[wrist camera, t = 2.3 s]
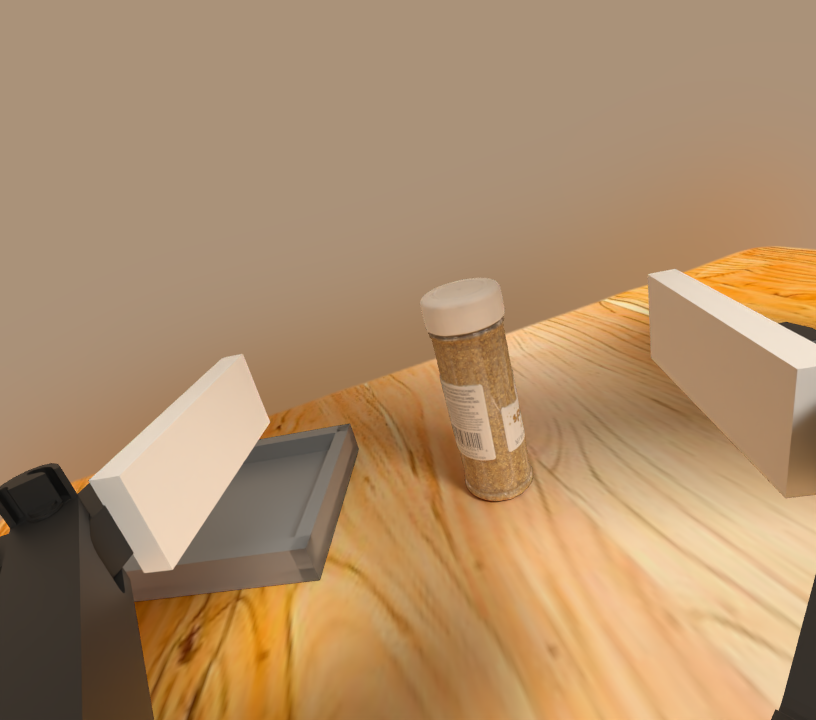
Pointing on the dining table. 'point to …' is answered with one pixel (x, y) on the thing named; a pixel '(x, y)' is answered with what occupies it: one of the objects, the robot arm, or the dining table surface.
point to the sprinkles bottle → (479, 385)
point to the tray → (264, 520)
